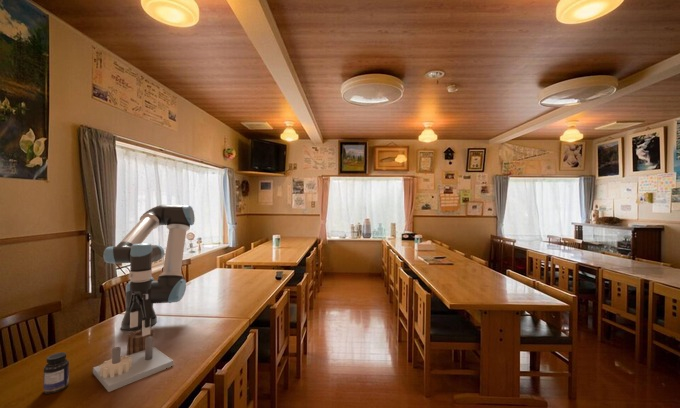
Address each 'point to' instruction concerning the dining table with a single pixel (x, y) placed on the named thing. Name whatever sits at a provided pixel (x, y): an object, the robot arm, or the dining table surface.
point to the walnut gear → (136, 341)
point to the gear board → (131, 366)
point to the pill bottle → (56, 373)
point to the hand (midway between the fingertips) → (139, 331)
